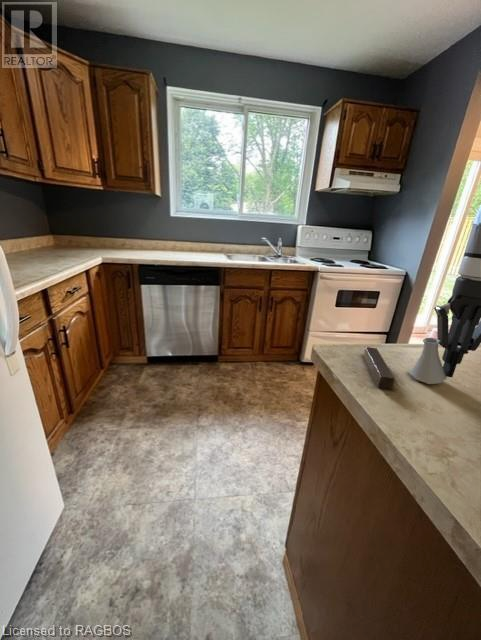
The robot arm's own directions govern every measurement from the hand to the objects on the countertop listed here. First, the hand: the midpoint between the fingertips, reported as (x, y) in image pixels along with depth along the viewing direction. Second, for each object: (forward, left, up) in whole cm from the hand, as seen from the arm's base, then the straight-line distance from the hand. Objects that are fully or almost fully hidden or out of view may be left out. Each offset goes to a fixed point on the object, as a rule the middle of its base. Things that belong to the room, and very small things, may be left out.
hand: (446, 374), depth 66 cm
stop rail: (+16, -1, -2) cm, 16 cm away
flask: (+4, 0, -2) cm, 4 cm away
